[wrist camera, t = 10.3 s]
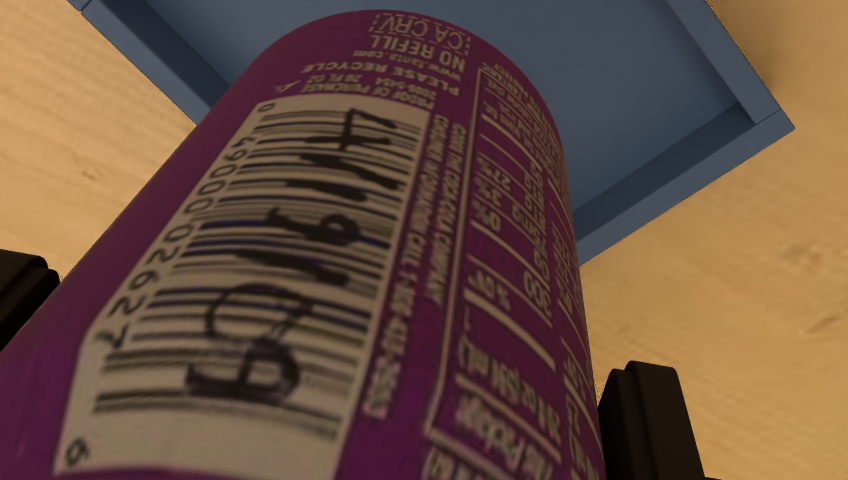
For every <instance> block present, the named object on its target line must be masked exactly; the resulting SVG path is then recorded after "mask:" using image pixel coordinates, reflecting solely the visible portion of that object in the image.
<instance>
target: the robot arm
mask: <svg viewBox="0 0 848 480" xmlns="http://www.w3.org/2000/svg"><path fill="white" fill-rule="evenodd" d="M59 284H60V279H59V275H58V273H57V272H56V271H55V270H53V269H48V265H47V262H46V261H45V259H44V258H43V257H41V256H37V255H31V254H25V253H20V252H14V251H8V250H3V249H0V352H1V351H2V350H3V349H4V347H5V346H6V345H7V344H8V343H9V342H10V341H11V339H12V338H13V337H14V336H15V335H16V334H17V332H18V331H19V330H20V329H21V328H22V327H23V326H24V324H25V323H26V322H27V321H28V320H29V319H30V317H31V316H32V315H33V314H34V313H35V312H36V311H37V309H38V308H39V307H40V306H41V305H42V304H43V302H44V301H45V300H46V299H47V298H48V297H49V296H50V294H51V293H52V292H53V291H54V290H55V289H56V287H57V286H58V285H59ZM598 416H599V423H600V431H601V439H602V446H603V454H604V461H605V469H606V477H607V480H720V479H715V478H709V477H705V475H704V472H703V468H702V464H701V460H700V457H699V453H698V449H697V445H696V442H695V438H694V434H693V430H692V427H691V423H690V419H689V415H688V412H687V408H686V404H685V401H684V397H683V393H682V389H681V386H680V382H679V378H678V375H677V372H676V370H675V369H674V368H672V367H667V366H661V365H656V364H650V363H644V362H639V361H633V360H632V361H629V362H628V364H627V365H626V367H625V369H624V370H620V369H612V370H611V372H610V374H609V376H608V379H607V382H606V385H605V388H604V391H603V393H602V396H601V399H600V402H599V405H598Z"/></svg>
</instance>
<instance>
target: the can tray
mask: <svg viewBox="0 0 848 480" xmlns="http://www.w3.org/2000/svg"><path fill="white" fill-rule="evenodd" d="M67 1H68V2H69V3H70V4H71V5H72V6H73V7H74V8H75V9H76V10H78V11H81V14H82V16H83V17H84V18H85V19H87V20H88V21H89V22H90V23H91V24H92V25H93V26H94V27H95V28H96V29H97V30H98V31H99V32H100V33H101V34H102V35H103V36H104V37H105V38H106V39H107V40H108V41H110V42H111V43H112V44H113V45H114V46H115V47H116V48H117V49H118V50H119V51H120V52H121V53H122V54H123V55H124V56H125V57H126V58H127V59H128V60H129V61H130V62H131V63H133V64H134V65H135V66H136V67H137V68H138V69H139V70H140V71H141V72H142V73H143V74H144V75H145V76H146V77H147V78H148V79H149V80H150V81H151V82H152V83H153V84H154V85H156V86H157V87H158V88H159V89H160V90H161V91H162V92H163V93H164V94H165V95H166V96H167V97H168V98H169V99H170V100H171V101H172V102H173V103H174V104H175V105H176V106H178V107H179V108H180V109H181V110H182V111H183V112H184V113H185V114H186V115H187V116H188V117H189V118H190V119H191V120H192V121H193V122H194V123H195V124H196V125H198V124H199V123H200V121H201V120H202V119H203V118H204V117H205V116H206V114H207V113H208V112H209V111H210V110H211V109H212V108H213V106H214V105H215V104H216V103H217V102H218V101H219V99H220V98H221V97H222V96H223V95H224V94H225V93H226V91H227V90H228V89H229V88H230V87H231V86H232V84H233V83H234V82H235V81H236V80H237V79H238V78H239V76H240V75H241V74H242V73H243V72H244V71H245V69H246V68H247V67H248V66H249V65H250V64H251V63H252V62H253V61H254V60H255V59H256V57H257V56H258V55H259V54H260V53H262V52H263V51H264V50H265V49H266V48H267V47H269V46H270V45H271V44H272V43H274V42H275V41H277V40H278V39H280V38H281V37H282V36H284V35H286V34H287V33H289V32H291V31H293V30H294V29H296V28H298V27H301V26H303V25H305V24H307V23H309V22H312V21H315V20H318V19H320V18H323V17H327V16H331V15H334V14H338V13H344V12H349V11H357V10H369V9H387V10H400V11H407V12H414V13H419V14H423V15H428V16H431V17H434V18H438V19H441V20H444V21H447V22H449V23H452V24H454V25H457V26H459V27H461V28H463V29H465V30H467V31H469V32H471V33H473V34H475V35H477V36H478V37H480V38H482V39H483V40H485V41H487V42H488V43H489V44H491V45H492V46H494V47H495V48H497V49H498V50H499V51H500V52H502V53H503V54H504V55H505V56H506V57H508V58H509V59H510V60H511V61H512V62H513V63H514V64H515V65H516V66H517V67H518V68H519V69H520V70H521V71H522V72H523V73H524V74H525V75H526V77H527V78H528V79H529V80H530V81H531V83H532V84H533V85H534V87H535V88H536V89H537V91H538V92H539V94H540V95H541V97H542V99H543V100H544V102H545V103H546V105H547V107H548V109H549V111H550V113H551V115H552V117H553V120H554V122H555V125H556V127H557V130H558V133H559V136H560V139H561V143H562V147H563V152H564V158H565V165H566V173H567V181H568V188H569V196H570V203H571V211H572V219H573V226H574V234H575V241H576V249H577V256H578V264H579V266H581V265H582V264H584V263H586V262H587V261H589V260H590V259H592V258H593V257H595V256H597V255H598V254H600V253H601V252H603V251H604V250H606V249H608V248H609V247H611V246H612V245H614V244H615V243H617V242H619V241H620V240H622V239H623V238H625V237H626V236H628V235H630V234H631V233H633V232H634V231H636V230H637V229H639V228H641V227H642V226H644V225H645V224H647V223H648V222H650V221H652V220H653V219H655V218H656V217H658V216H659V215H661V214H663V213H664V212H666V211H667V210H669V209H670V208H672V207H674V206H675V205H677V204H678V203H680V202H681V201H683V200H685V199H686V198H688V197H689V196H691V195H692V194H694V193H696V192H697V191H699V190H700V189H702V188H703V187H705V186H707V185H708V184H710V183H711V182H713V181H714V180H716V179H718V178H719V177H721V176H722V175H724V174H725V173H727V172H729V171H730V170H732V169H733V168H735V167H736V166H738V165H740V164H741V163H743V162H744V161H746V160H747V159H749V158H751V157H752V156H754V155H755V154H757V153H758V152H760V151H762V150H763V149H765V148H766V147H768V146H769V145H771V144H773V143H774V142H776V141H777V140H779V139H780V138H782V137H784V136H785V135H787V134H788V133H790V132H791V131H793V130H794V129H795V126H794V125H793V124H792V122H791V121H790V119H789V118H788V117H787V115H786V114H785V112H784V111H783V110H782V108H781V107H780V105H779V104H778V103H777V101H776V100H775V98H774V97H773V95H772V94H771V93H770V91H769V90H768V88H767V87H766V86H765V84H764V83H763V81H762V80H761V79H760V77H759V76H758V74H757V73H756V71H755V70H754V69H753V67H752V66H751V64H750V63H749V62H748V60H747V59H746V57H745V56H744V55H743V53H742V52H741V50H740V49H739V48H738V46H737V45H736V43H735V42H734V40H733V39H732V38H731V36H730V35H729V33H728V32H727V31H726V29H725V28H724V26H723V25H722V24H721V22H720V21H719V19H718V18H717V16H716V15H715V14H714V12H713V11H712V9H711V8H710V7H709V5H708V4H707V2H706V1H705V0H67Z"/></svg>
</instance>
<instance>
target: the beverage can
mask: <svg viewBox="0 0 848 480" xmlns="http://www.w3.org/2000/svg"><path fill="white" fill-rule="evenodd" d="M0 480H607V477H606V469H605V461H604V454H603V446H602V439H601V431H600V423H599V416H598V408H597V401H596V393H595V386H594V378H593V370H592V363H591V355H590V348H589V340H588V332H587V325H586V317H585V310H584V302H583V294H582V287H581V279H580V272H579V264H578V256H577V249H576V241H575V234H574V226H573V219H572V211H571V203H570V196H569V188H568V181H567V173H566V165H565V158H564V152H563V147H562V143H561V139H560V136H559V133H558V130H557V127H556V125H555V122H554V120H553V117H552V115H551V113H550V111H549V109H548V107H547V105H546V103H545V102H544V100H543V99H542V97H541V95H540V94H539V92H538V91H537V89H536V88H535V87H534V85H533V84H532V83H531V81H530V80H529V79H528V78H527V77H526V75H525V74H524V73H523V72H522V71H521V70H520V69H519V68H518V67H517V66H516V65H515V64H514V63H513V62H512V61H511V60H510V59H509V58H508V57H506V56H505V55H504V54H503V53H502V52H500V51H499V50H498V49H497V48H495V47H494V46H492V45H491V44H489V43H488V42H487V41H485V40H483V39H482V38H480V37H478V36H477V35H475V34H473V33H471V32H469V31H467V30H465V29H463V28H461V27H459V26H457V25H454V24H452V23H449V22H447V21H444V20H441V19H438V18H434V17H431V16H428V15H423V14H419V13H414V12H407V11H400V10H387V9H369V10H357V11H349V12H344V13H338V14H334V15H331V16H327V17H323V18H320V19H318V20H315V21H312V22H309V23H307V24H305V25H303V26H301V27H298V28H296V29H294V30H293V31H291V32H289V33H287V34H286V35H284V36H282V37H281V38H280V39H278V40H277V41H275V42H274V43H272V44H271V45H270V46H269V47H267V48H266V49H265V50H264V51H263V52H262V53H260V54H259V55H258V56H257V57H256V59H255V60H254V61H253V62H252V63H251V64H250V65H249V66H248V67H247V68H246V69H245V71H244V72H243V73H242V74H241V75H240V76H239V78H238V79H237V80H236V81H235V82H234V83H233V84H232V86H231V87H230V88H229V89H228V90H227V91H226V93H225V94H224V95H223V96H222V97H221V98H220V99H219V101H218V102H217V103H216V104H215V105H214V106H213V108H212V109H211V110H210V111H209V112H208V113H207V114H206V116H205V117H204V118H203V119H202V120H201V121H200V123H199V124H198V125H197V126H196V127H195V128H194V129H193V131H192V132H191V133H190V134H189V135H188V136H187V138H186V139H185V140H184V141H183V142H182V143H181V144H180V146H179V147H178V148H177V149H176V150H175V151H174V153H173V154H172V155H171V156H170V157H169V158H168V159H167V161H166V162H165V163H164V164H163V165H162V166H161V168H160V169H159V170H158V171H157V172H156V173H155V174H154V176H153V177H152V178H151V179H150V180H149V181H148V182H147V184H146V185H145V186H144V187H143V188H142V189H141V191H140V192H139V193H138V194H137V195H136V196H135V197H134V199H133V200H132V201H131V202H130V203H129V204H128V206H127V207H126V208H125V209H124V210H123V211H122V212H121V214H120V215H119V216H118V217H117V218H116V219H115V221H114V222H113V223H112V224H111V225H110V226H109V227H108V229H107V230H106V231H105V232H104V233H103V234H102V236H101V237H100V238H99V239H98V240H97V241H96V242H95V244H94V245H93V246H92V247H91V248H90V249H89V251H88V252H87V253H86V254H85V255H84V256H83V257H82V259H81V260H80V261H79V262H78V263H77V264H76V266H75V267H74V268H73V269H72V270H71V271H70V272H69V274H68V275H67V276H66V277H65V278H64V279H63V281H62V282H61V283H60V284H59V285H58V286H57V287H56V289H55V290H54V291H53V292H52V293H51V294H50V296H49V297H48V298H47V299H46V300H45V301H44V302H43V304H42V305H41V306H40V307H39V308H38V309H37V311H36V312H35V313H34V314H33V315H32V316H31V317H30V319H29V320H28V321H27V322H26V323H25V324H24V326H23V327H22V328H21V329H20V330H19V331H18V332H17V334H16V335H15V336H14V337H13V338H12V339H11V341H10V342H9V343H8V344H7V345H6V346H5V347H4V349H3V350H2V351H1V352H0Z"/></svg>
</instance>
